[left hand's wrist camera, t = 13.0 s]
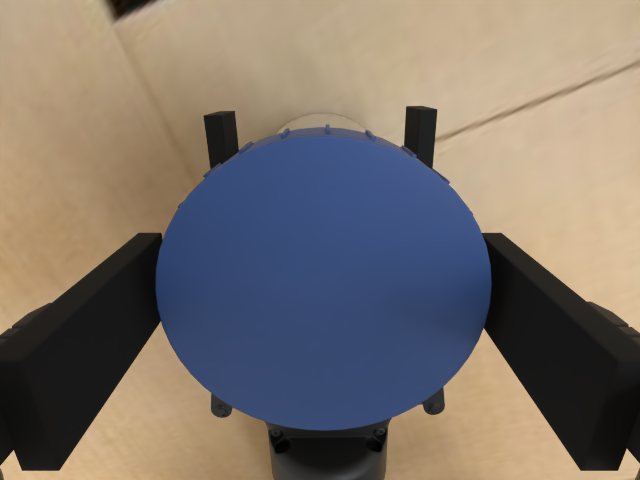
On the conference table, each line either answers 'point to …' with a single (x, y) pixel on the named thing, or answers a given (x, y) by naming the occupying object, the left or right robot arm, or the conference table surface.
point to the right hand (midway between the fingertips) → (320, 110)
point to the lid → (323, 280)
